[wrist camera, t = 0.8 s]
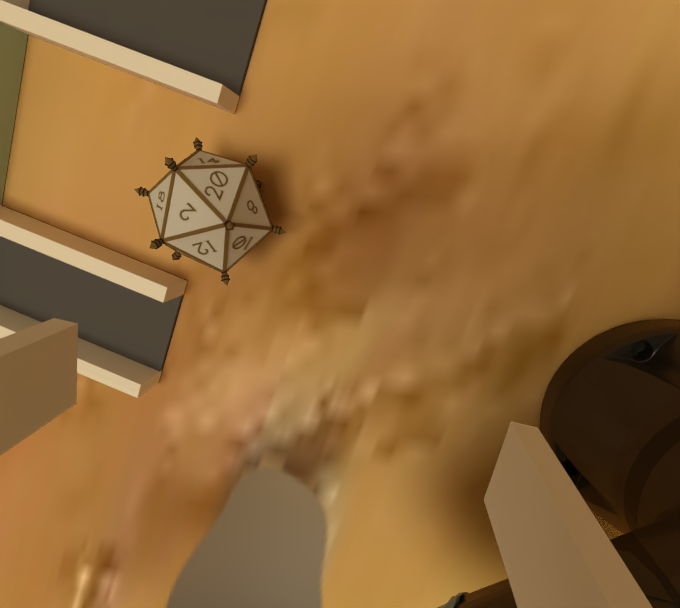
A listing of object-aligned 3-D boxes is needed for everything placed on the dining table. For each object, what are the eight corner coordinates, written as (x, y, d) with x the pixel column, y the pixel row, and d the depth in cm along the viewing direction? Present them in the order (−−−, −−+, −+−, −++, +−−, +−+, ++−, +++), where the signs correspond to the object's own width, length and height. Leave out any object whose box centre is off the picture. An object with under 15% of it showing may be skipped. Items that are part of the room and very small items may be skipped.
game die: (236, 191, 35) (161, 88, 26) (320, 220, 32) (266, 112, 23) (173, 280, 33) (68, 199, 24) (256, 321, 29) (170, 245, 21)
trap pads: (270, -12, 28) (268, -14, 28) (162, 370, 35) (160, 371, 35) (47, -93, 29) (44, -97, 28) (-13, 297, 36) (-17, 298, 36)
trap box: (275, -32, 28) (261, -60, 25) (158, 382, 36) (137, 398, 33) (35, -119, 29) (-7, -157, 26) (-28, 304, 36) (-64, 313, 34)
